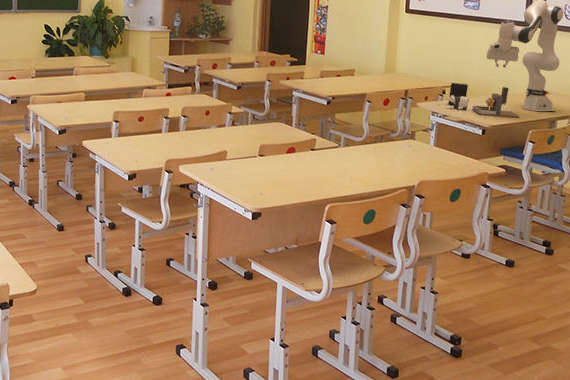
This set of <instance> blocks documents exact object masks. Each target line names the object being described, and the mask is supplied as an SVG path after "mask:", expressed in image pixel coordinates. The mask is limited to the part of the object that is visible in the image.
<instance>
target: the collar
mask: <svg viewBox="0 0 570 380" xmlns="http://www.w3.org/2000/svg"><path fill="white" fill-rule="evenodd" d="M487 100H490V103H486V107H489V108H490V107H493V103H494V99H492V97H488V98H487Z"/></svg>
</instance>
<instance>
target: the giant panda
mask: <svg viewBox="0 0 570 380" xmlns="http://www.w3.org/2000/svg"><path fill="white" fill-rule="evenodd" d="M446 100H447V101H448V102H449V101H450V102H453V103H454V106H453V108H454V109H456V111H457V110H459V107H461V110H462V111H467V109H468V105H469V101H470V99H469V98H467V96H466V97H454V95H453V96H450V97H447V98H446ZM454 109H453V110H454Z"/></svg>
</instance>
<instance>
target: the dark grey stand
mask: <svg viewBox="0 0 570 380" xmlns="http://www.w3.org/2000/svg"><path fill="white" fill-rule="evenodd" d="M491 98H492V99H494V100H495V102H494V104H493V107H489V106H487V105H486V106H483V105H473V106H472V109H471V110H472V112H474V113H476V114H477V115H479V116H485V117H486V116H487V117H500V118H501V117H502V118H514V119H515V118H517V119H520V116H519V115H518V114H517V113H515V112H513V111H512V110H509V111H508V110H502V107H503V106H502V105H503V104H502V100H503V96H501V94H499V93H492V94H491Z"/></svg>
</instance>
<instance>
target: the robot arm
mask: <svg viewBox="0 0 570 380" xmlns="http://www.w3.org/2000/svg"><path fill="white" fill-rule="evenodd" d="M563 17H564V11H563V8H562V7H560V6H558V5H552V4H551V5H550V4H548V2H547V1H545V0H536V1H534V2H533V3H532V4H530V5H529V6H528V7H527V8H526V9H525V11H524V13H523V18H524V20H525V21H526V23H528V24H529V26H518V25H516V24H515V21H514V20H511V19H510V20H508V19H507V20H503V21H502V22H501V24H500V27H499V32H498V39H497V42H493V43H490V44H489V47H488V50H487V51H486V57H485V58H486V59H487V60H493V61H494V63H495V67H496V68H498V67H499V66H500V64H499V63H498V61H505V63H503V65H502V67H503V68H507V65H508V64H509V62H517V61H518V60H519V53H520V49H519V47H518V46H513V45H512V44H513V43H512V42H518V43H522V44H528V43H529V42H530V41H532V39H533V37H534V34H535V33H536V32H537V30H538V28H539V27H540V26H541V27H540V29H539V32H538V33H539V34H538V38H537V41H536V42H537V43H536V44H537V46H538V47H539V48H540V49H542V53H541V52H535V51H531V52H525V54H524V55H523V57H522V63H523V65H524V67H525V68H526V70H527V73H528V85H527V88H526V91H525V98H524V102H523V104H522V107H521V108H522V109H524V110H528V111H533V112H537V111H553V109H554V108H553V107H554V106H553V101H551V100H550V98H549V97H548V96H547V95H549V94H550V93H549V91H548V90H545V87H546V77H545V76H544V75H542V73H541V71H547V72H553V71H556V70H557V69H558V68H559V66H560V58H559V57H558V56H557V55H556V53H555V47H554V46H555V42H556V36H557V32H558V27H559V25H558V24H559V22H560V21H561V20H562V19H563Z"/></svg>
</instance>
